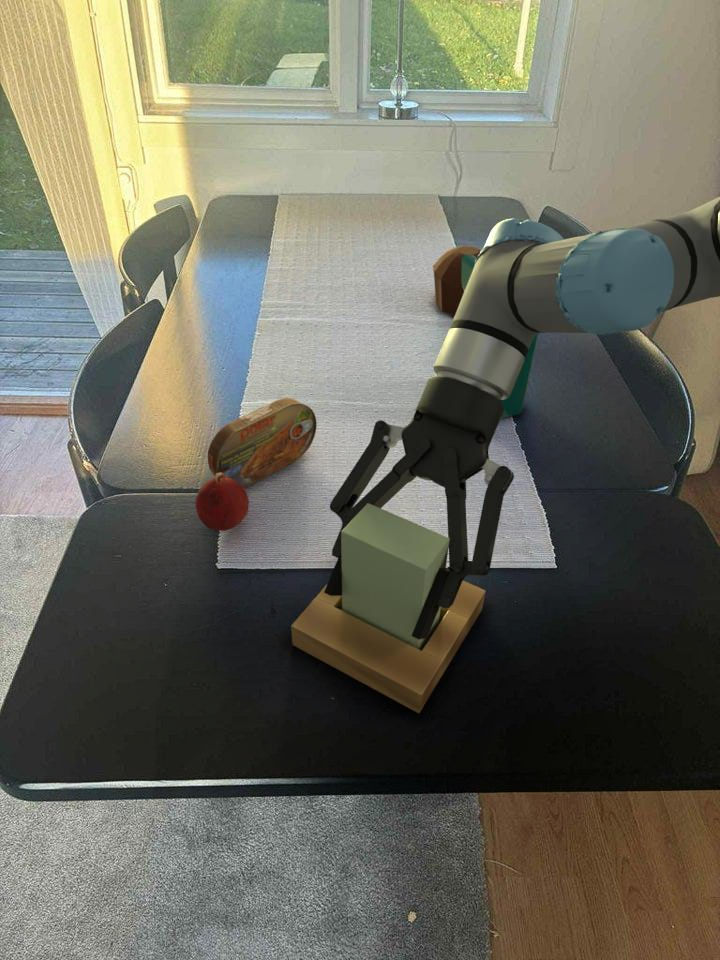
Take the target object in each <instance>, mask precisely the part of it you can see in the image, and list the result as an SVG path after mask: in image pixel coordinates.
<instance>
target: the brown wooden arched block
mask: <svg viewBox="0 0 720 960" xmlns="http://www.w3.org/2000/svg"><path fill="white" fill-rule="evenodd" d="M481 250H482V248H479V247H477V246H474V245H469V244H468V245H458V246H455V247H452V248H450V249H448V250H446V251H445V252H444V253H443V254H442V255H441V256H440V257H439V258H438V259H437V260H436V262H435V263H434V264H433V265H432V269H433V270H432V271H433V279H434V281H433V282H434V293H435V305H436V306H437V307H438V308H439V309H440V311H441V313H444V314H448V315H451V316H453V317H455V314H456V312H457V309H458V306H459V304H460V301H461V299H462V296H463V294H464V290H463V287H462V257H464V256H465V255H469V254H470V255H474V256H475V257H476V258H477V257H478V255H479V254H480V252H481Z"/></svg>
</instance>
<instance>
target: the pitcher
mask: <svg viewBox="0 0 720 960" xmlns="http://www.w3.org/2000/svg"><path fill="white" fill-rule="evenodd" d="M476 259H477V258H476V257H475V256H474V255H470V254H469V255H465V256H464V257H462V287H463V290H464V291H465V289H466V286H467V284H468V281H469V279H470V276H471V274H472V271H473V269H474V266H475V261H476ZM539 334H540V333H537V332H536V334H535V336H534V339H533V341H532V343H531V345H530V347H529V350H528V353H527V356H526V358H525V360H524V363H523V365H522V368H521V370H520V372H519V375H518V377H517V380H516V382H515V384H514V387H513V389H512V392H511V394H510V396H509V398H507V399H504V400H501V402H502V403H503V407H504V411H503V414H502V416H501V419H505V418H510V417H514V416H518V415H519V414H520V413H522V411H523V409H524V406H525V402H526V398H527V397H526V396H527V391H528V386H529V381H530V378H531V372H532V367H533V364H534V363H533V362H534V358H535V353H536V348H537V343H538V340H539V339H538V338H539ZM501 419H500V420H501Z"/></svg>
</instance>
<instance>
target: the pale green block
mask: <svg viewBox="0 0 720 960" xmlns="http://www.w3.org/2000/svg"><path fill="white" fill-rule="evenodd" d="M449 540H450V538H448V536H446V535H443V534H441V533H439V532H437V531H434V530H432V529H429V528H427V527H425V526H422V525H420V524H417V523H415V522H412V521H411V520H409V519H406V518H404V517H401V516H400V515H397V514H394V513H392V512H391V511H388V510H385V509H383V508H378V507H376V506H374V505H371V504H369V503H367V504H366V505H365V507H364V508H363V509H362V510H361V511H360V512H359V513H358V514H357V515H356V516H355V517H354V518H353V519H352V520H351V522H350V523H349V524H348V525H347V526H346V527H345V528H344V529H343V530H342V531H341V554H342V611H343V612H345V613H347V614H349V615H351V616H353V617H355V618H357V619H359V620H361V621H363V622H365V623H367V624H369V625H371V626H373V627H375V628H377V629H379V630H381V631H383V632H385V633H387V634H389V635H391V636H393V637H395V638H397V639H399V640H401V641H403V642H405V643H407V644H409V645H411V646H413V647H415V648H417V649H419V650H421V651H422V650H423V648H424V647H425V645H426V644H427V642H428V641H429V639H430V638H431V636H432V635H433V633H434V631H435V630H436V628H437V627H438V624H439V617H440V609H441V606H440V608H439V610H438V612H437V615H436V617H435V620H434V622H433V624H432V627H431V629H430V632H429V634H428V637H427V638H424V639H417V638H415V637H413V636H412V633H413V631H414V628H415V626H416V623H417V621H418V619H419V616H420V614H421V611H422V609H423V606H424V604H425V602H426V599H427V597H428V594H429V592H430V590H431V587H432V585H433V582H434V580H435V577H436V575H437V573H438V570H439V568H444V569H447V564H448V563H447V562H448V556H449Z"/></svg>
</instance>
